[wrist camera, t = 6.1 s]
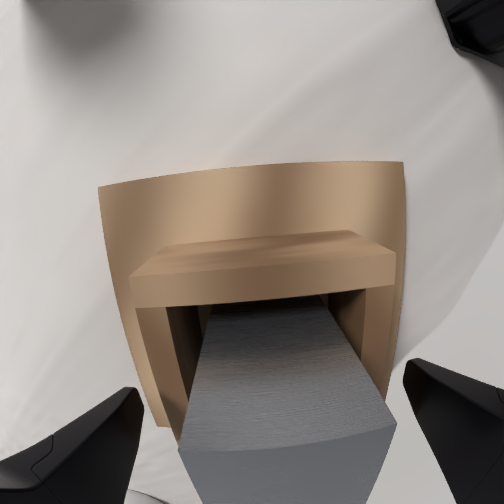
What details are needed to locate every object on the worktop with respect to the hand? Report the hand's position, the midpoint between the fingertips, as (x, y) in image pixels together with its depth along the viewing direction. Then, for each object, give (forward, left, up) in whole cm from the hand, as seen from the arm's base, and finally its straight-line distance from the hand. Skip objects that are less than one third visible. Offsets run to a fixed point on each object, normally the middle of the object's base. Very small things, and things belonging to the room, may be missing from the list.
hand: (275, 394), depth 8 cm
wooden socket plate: (0, 0, -6) cm, 6 cm away
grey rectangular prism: (0, 0, -5) cm, 5 cm away
